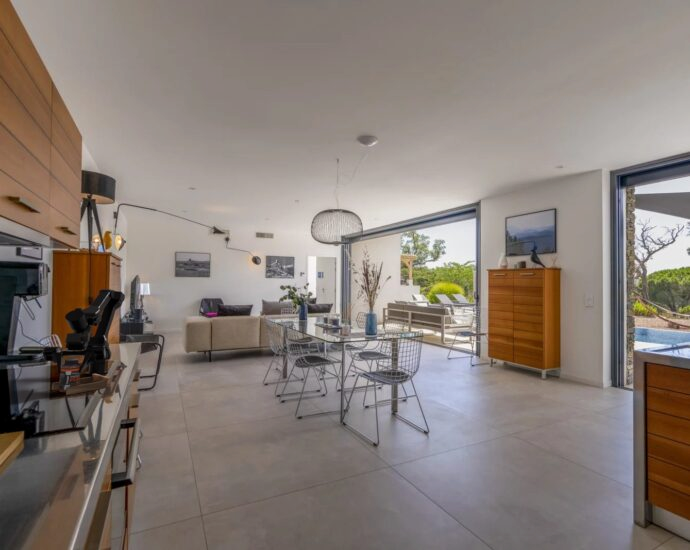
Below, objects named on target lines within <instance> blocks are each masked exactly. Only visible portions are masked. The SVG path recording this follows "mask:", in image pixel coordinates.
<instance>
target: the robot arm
mask: <svg viewBox="0 0 690 550" xmlns="http://www.w3.org/2000/svg"><path fill="white" fill-rule="evenodd" d="M125 300H126V294H125V293H123V292H122V291H117V290H114V289H111V288H107V289H106V288H102V289H99V292H98V295H97V296H96V297H95V299H94V300H93V301H92V302H91V304H90V305H89V306H88V307H86V308H83V307H82V308H81V307H75V309H74V310H73V309H72V310H71V311H68V312H67V313H66V314H65V316H64V318H65V320H66V323H67V325H68V326H69V329H70V330H72V332H70V333H69V332H68V333H66V336H65V341H64V343H65V348H66V349H61V348H59V346H45V347H44V348H43V349H42V352H41V353H42V356H43V359H44V361H45V362H53V363H54V364H56V367H57V368H56V369H57V373H58V375H60V371H61V367H62V366H63V365H64V364H65V360H64V357H83V359H82V362H81V364H80V365H81V367H80V370H79V373H80V374H82V373H83V372H84V370H86V369H87V367H88V371H85V372H84V374H86V375H89V376H92V374H99V375H104V374H108V373H109V371H106V361H108V360H111V357H112V351H111V349H110V343H109V341H108V336H109V334H110V330H111V328H112V327H111V326H112V323H113V320H114V317H115V315H116V310H118V309H119V308H121V307H122V305H123V303H124V301H125ZM92 327H97V328H96V330H95V333H94V335H93V336H92V331H93V328H92Z"/></svg>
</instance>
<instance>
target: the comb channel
mask: <svg viewBox="0 0 690 550" xmlns="http://www.w3.org/2000/svg"><path fill="white" fill-rule="evenodd" d="M51 385H52V386H51V391H57V390H58V391H59V381H58V382H57V381H56V382H52V384H51ZM110 387H111V377H109V376H106V375H104V374H92V375H91V376H87V377H82V378H81V377H80V384H79V385H78V386H72V387H66V392H65V396H70V395H75V394H81V393H85V392H90V391H95V390H101V388H102V389H105V388H106V389H107V388H110Z"/></svg>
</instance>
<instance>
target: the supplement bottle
mask: <svg viewBox="0 0 690 550" xmlns="http://www.w3.org/2000/svg"><path fill="white" fill-rule="evenodd" d="M79 360H80V359H79V358H77V357H76V358H71V357H70V358H65V359H64V363H63V366H62V367H61V371H60V374H59V381H58V382H59V389H58V392H59V393H66V387H72V386H78V385H79V384H80V378H81V373H79V370H80V367H81V364H80V363H79Z"/></svg>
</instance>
